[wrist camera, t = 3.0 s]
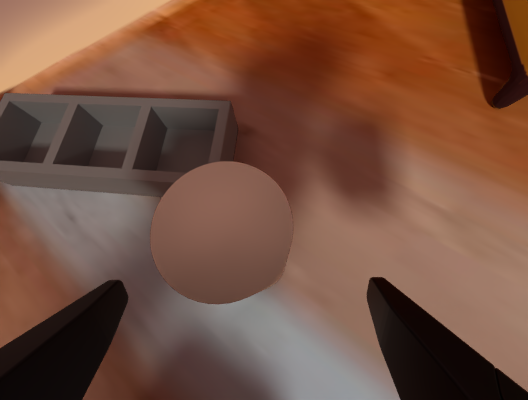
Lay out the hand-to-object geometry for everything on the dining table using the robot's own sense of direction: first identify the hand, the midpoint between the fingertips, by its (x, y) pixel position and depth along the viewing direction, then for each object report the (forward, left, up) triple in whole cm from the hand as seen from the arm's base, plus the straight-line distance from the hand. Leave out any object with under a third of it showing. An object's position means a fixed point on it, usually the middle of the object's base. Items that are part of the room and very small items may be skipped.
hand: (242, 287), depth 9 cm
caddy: (-13, +10, -9) cm, 19 cm away
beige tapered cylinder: (0, +2, -9) cm, 9 cm away
